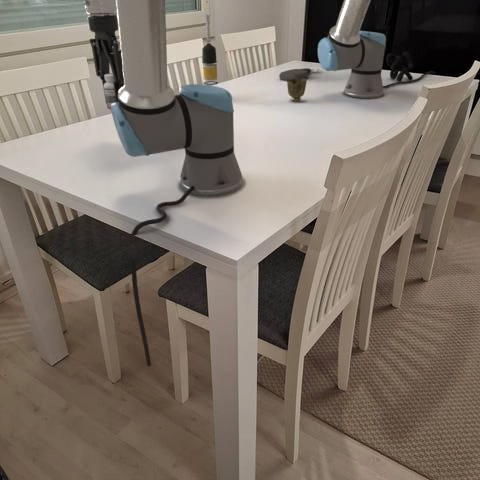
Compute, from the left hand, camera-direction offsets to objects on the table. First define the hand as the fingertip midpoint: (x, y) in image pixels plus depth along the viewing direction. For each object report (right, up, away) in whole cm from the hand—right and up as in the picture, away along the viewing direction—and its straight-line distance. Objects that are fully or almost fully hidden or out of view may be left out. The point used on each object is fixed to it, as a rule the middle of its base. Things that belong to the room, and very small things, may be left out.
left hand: (116, 104), depth 128 cm
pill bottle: (0, -1, +1) cm, 2 cm away
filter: (+24, +18, +51) cm, 59 cm away
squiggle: (+107, +33, +73) cm, 134 cm away
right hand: (+61, +61, +56) cm, 103 cm away
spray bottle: (+65, +39, +83) cm, 112 cm away
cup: (+57, +15, +46) cm, 75 cm away
